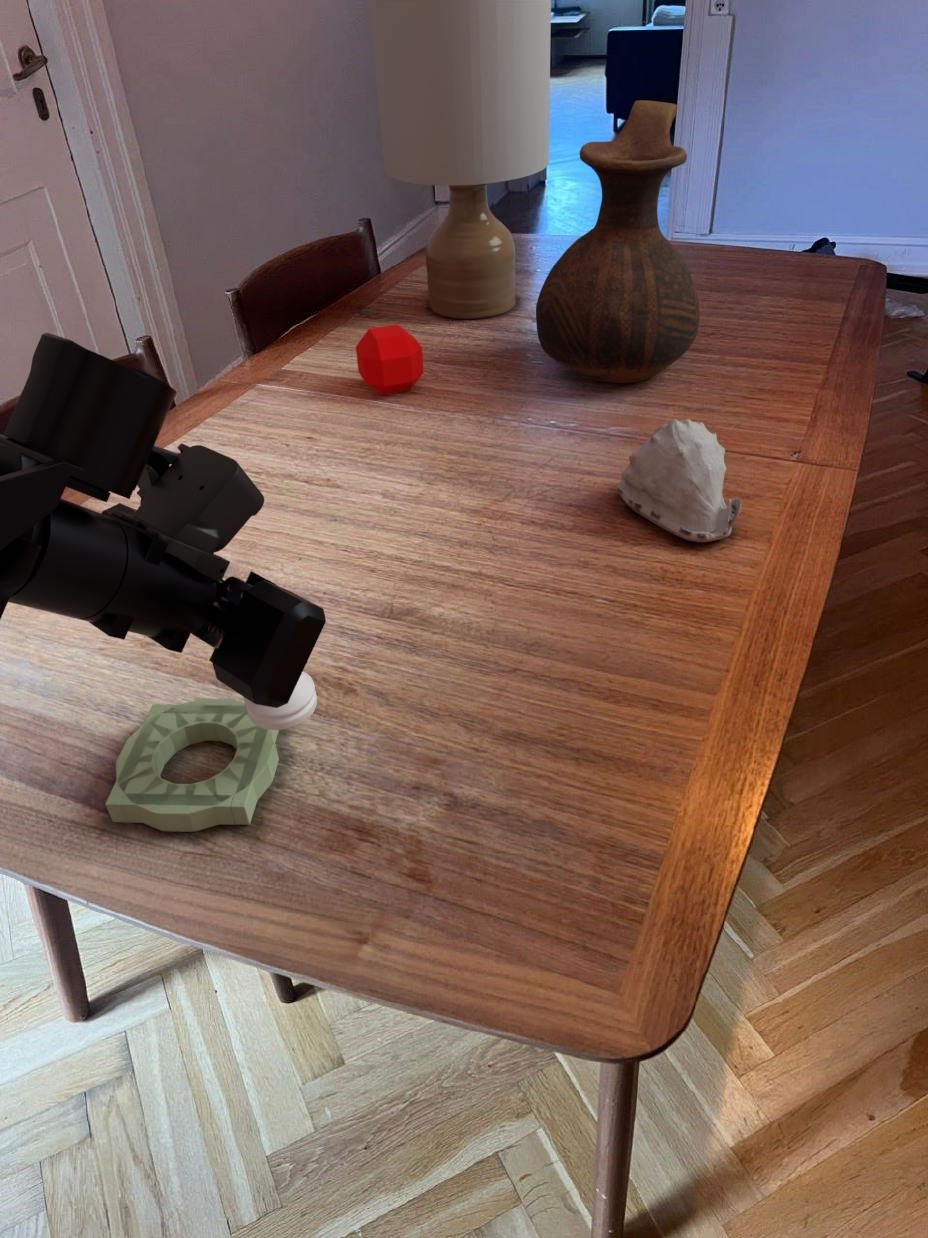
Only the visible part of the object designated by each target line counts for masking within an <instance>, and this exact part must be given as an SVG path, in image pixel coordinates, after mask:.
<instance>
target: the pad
mask: <svg viewBox="0 0 928 1238" xmlns="http://www.w3.org/2000/svg"><path fill="white" fill-rule="evenodd" d="M279 732H280V730H269V729H264V728H261V727H259V726H257V725H256V724H254V723H253V722H252V721H251V720H250V718H249V717H248V714H247V709H246V705H245V702H240V701H238V700H235V699H232V698H231V699H230V698H200V699H195V700H192V701H188V702H184V703H180V704H170V703H169V704H158V703H156V704H155V703H153V704H152V705H151V706H150V709H149V711H148V714H147V716H146V718H145V720H144V722H143V723H142V725H141V726H139V727H138V728H137V729H136V731H135V732H133V733H132V734H131V735H130V736H129V737H128V738H127V739H126V741H125V743H124V745H123V747H122V749H121V752H120V753H119V755H118V757H117V759H116V761H115V778H116V779H115V783H114V785H113V787H112V789H111V791H110V793H109V795H108V797H107V800H106V801H105V808H106V809H107V812H108V814H109V816H110V819H111V820H112V822H113V823H129V824H130V823H131V824H132V823H133V824H135V823H136V824H137V823H138V824H145V825H147V826H150V827H152V828H154V829H157V830H159V831H161V832H184V833H195V832H199V831H202V830H206V829H209V828H213V827H215V826H219V825H225V826H227V825H230V826H231V825H232V826H235V825H237V826H239V825H240V826H243V825H244V826H249V825H251V823H252V819H253V816H254V813H255V810H256V807H257V803H258V800H259V799H261V798H262V796H263V794H265V792H266V791H267V790H268V789H269V788H270V786H271V785H272V783H273V782H274V778H275V775H276V771H277V770H278V769H277V768H278V765H279V761H280V757H279V752H278V748H277V745H276V742H277V739H278V735H279ZM206 741H207V742H209V741H210V742H211V741H212V742H213V741H214V742H215V741H216V742H217V741H218V742H220V741H221V742H222V743H226V744H227V745H231V746H233V747H234V749H236V750H235V753H234V757H233V759H232V760H231V761H230V762H229V763H228V765H226V767H225V768H224V769H223V770H222V771H219V772H218V773H217V774H215V775H213V776H212V777H210V778H208V779H205V780H200V781H197V782H194V783H174V782H172V781H169V780H167V779H164V778H162V776H161V775H162V773H163V771H164V768H165V766H166V764H167V763H168V762H169V761H170V760H171V759H172V757H174V755H175V754H176V753H178V752H181V751H182V750H184V749H185V748H187V747H188V746H191V745H195V744H199V743H202V742H206Z"/></svg>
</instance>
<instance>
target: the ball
mask: <svg viewBox="0 0 928 1238" xmlns="http://www.w3.org/2000/svg"><path fill="white" fill-rule="evenodd" d="M355 353H356V362H357V369H358V371H357V372H358V373H359V375H360V377H361V379H362V380H363V381H364V383H365V384H366V385H367V386H368V387H370V388H372V389H373V390H374V391H375V392H377V393H378V394H380V395H381V396H386V395H392V394H397V393H402V392H408V391H409V392H410V391H411V390H412V389H413V388H414V386H415V385H416V384H417V382H418V381H419V380H420V378H421V377H422V376H423V375H424V374H425V368H424V356H423V346H422V345H421V344H420V343H419V341H418V340H417V338H415V336H414V335H412V334H411V333H409V332H408V331H407V330H406V329H404V328H403V327H402V326H401V325H400V324H398V323H396V324H390V325H389V324H388V325H384V326H383V325H382V326H377V327H371V328H368V329H367V331H365V334H364V335H363V336H362V338H361V339H360V340H359V341H358V343H357V344H356V346H355Z"/></svg>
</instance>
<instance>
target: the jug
mask: <svg viewBox="0 0 928 1238" xmlns="http://www.w3.org/2000/svg"><path fill="white" fill-rule="evenodd" d="M677 111H678V105H677V104H676V103H670V102H664V101H655V100H642V99H641V100H635V101H634V102H633V105H632V106H631V110H630V113H629V116H628V117H627V120H626V122H625V124H624V126H623V127H622V129H621V130H620V132H619V133H618V135H616V137H615V138H614V139H613V140H608V141H607V140H606V141H589V142H587V143H585V144H583V145H582V146H581V148H580V150H579V159H580V161H581V162H583V163H584V164H585V165H587V166H588V167H589V168H591V169H592V170H593V171H594V172H595V174H596V175H597V177H598V180H599V182H600V188H601V202H600V206H599V211H598V215H597V220H596V222H595V225H594V227H592V228H591V229H590V230H589V231H587V232H586V233H584V234H583V235H581V236H580V237H579V238H578V239H576V240H574V242H573V243H572V244H571V245H570V246H569V247H568V248H567V249H566V250H565V252H563V253H562V255H561V256H560V257H559V259H558V260H557V261H556V262H555V264H554V265H553V266H552V267H551V268H550V270H549V272H548V274H547V276H546V278H545V280H544V282H543V285H542V286H541V289H540V291H539V294H538V296H537V297H538V298H537V300H536V305H535V324H536V332H537V338H538V341H539V344H540V347H541V349H542V350H543V352H544V353H545V354H546V355H547V356H548V357H550V358H551V359H552V360H554V361H555V362H557V363H558V364H560V365H562V366H564V367H565V368H567V369H569V370H570V371H571V372H573V373H575V374H576V375H578V376H579V377H581V378H584V379H589V380H594V381H599V382H605V383H615V384H632V383H639V382H643V381H646V380H649V379H651V378H653V377H655V376H656V375H658V374H659V373H661V372H662V371H664V370H665V369H666V368H668V367H669V366H670V365H672V364H674V363H675V362H676V361H678V360H679V359H681V357H683V356H684V355H685V353H687V351H688V350H689V349H690V348H691V346H692V344H694V341H695V339H696V338H697V335H698V332H699V329H700V317H701V315H700V314H701V312H700V301H699V296H698V292H697V288H696V285H695V282H694V279H693V277H692V275H691V272H690V269H689V266H688V264H687V262H686V261H685V259H684V257H683V256H682V254H681V253H680V251H679V250H678V249H677V248H676V247H675V246H674V244H672V243H671V242H670V241H669V240H668V239H667V238H666V237H665V235H664V234H663V233H662V230H661V228H660V224H659V216H658V214H659V213H658V206H659V195H660V190H661V185H662V183H663V181H664V178H665V177H666V175H667V174H668V173H669V171H670V170H671V169H674V168H677V167H679V166H682V165H683V164H685V163H686V162H687V160H688V153H687V150H686V149H684V148H683V147H680V146H677V145H673V144H672V143H671V135H670V134H671V133H670V132H671V128H672V124H673V121H674V119H675V117H676V116H677Z"/></svg>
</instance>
